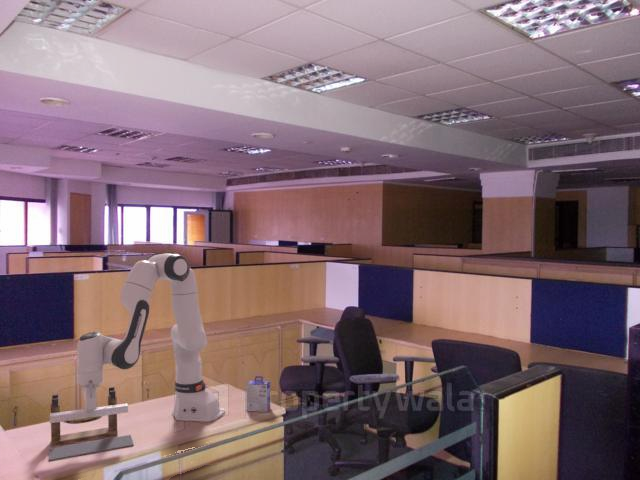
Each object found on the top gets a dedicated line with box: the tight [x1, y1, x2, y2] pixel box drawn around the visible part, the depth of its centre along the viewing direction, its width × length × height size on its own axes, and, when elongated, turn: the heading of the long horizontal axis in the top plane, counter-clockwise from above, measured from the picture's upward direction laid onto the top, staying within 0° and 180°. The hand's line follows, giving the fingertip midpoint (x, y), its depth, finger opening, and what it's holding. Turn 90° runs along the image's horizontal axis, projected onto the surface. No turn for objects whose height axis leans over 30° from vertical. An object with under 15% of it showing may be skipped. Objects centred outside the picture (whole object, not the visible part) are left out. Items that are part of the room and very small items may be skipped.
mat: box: [48, 434, 134, 462], centre depth 191 cm, size 28×10×1 cm, turn 116°
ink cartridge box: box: [245, 375, 271, 413], centre depth 229 cm, size 10×6×14 cm, turn 81°
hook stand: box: [50, 386, 119, 448], centre depth 200 cm, size 23×6×18 cm, turn 116°
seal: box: [65, 416, 103, 424], centre depth 220 cm, size 9×5×15 cm
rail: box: [49, 403, 129, 424], centre depth 190 cm, size 26×3×2 cm, turn 116°
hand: (90, 414), depth 191 cm, fingers closed on rail, 3 cm apart
